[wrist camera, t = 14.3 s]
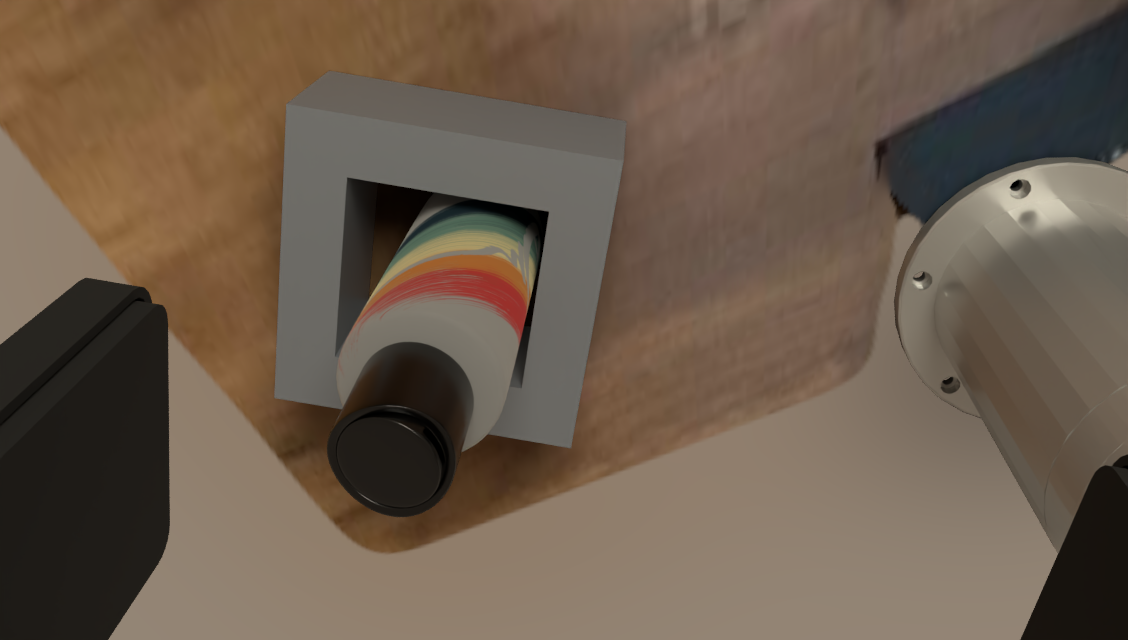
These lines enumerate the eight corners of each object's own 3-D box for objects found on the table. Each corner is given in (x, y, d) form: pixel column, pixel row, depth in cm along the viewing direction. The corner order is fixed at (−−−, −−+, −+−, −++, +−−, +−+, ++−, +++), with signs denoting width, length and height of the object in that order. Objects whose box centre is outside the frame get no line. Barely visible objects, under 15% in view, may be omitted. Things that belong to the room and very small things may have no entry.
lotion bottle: (564, 263, 49) (517, 518, 31) (453, 304, 50) (346, 573, 32) (513, 151, 47) (431, 354, 29) (399, 197, 48) (251, 419, 30)
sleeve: (626, 121, 46) (623, 161, 40) (578, 382, 51) (570, 448, 46) (329, 70, 46) (286, 104, 40) (313, 337, 51) (274, 397, 46)
